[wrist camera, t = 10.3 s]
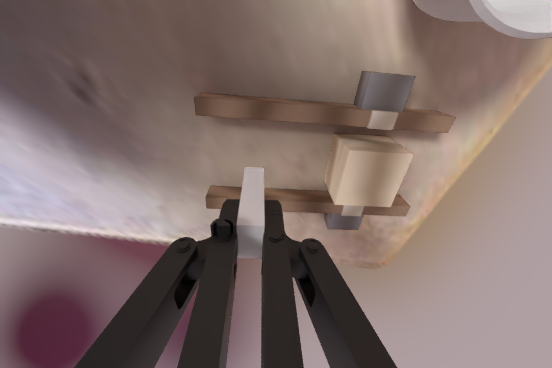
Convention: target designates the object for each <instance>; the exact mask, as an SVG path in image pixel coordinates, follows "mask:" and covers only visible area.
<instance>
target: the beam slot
mask: <svg viewBox="0 0 552 368" xmlns="http://www.w3.org/2000/svg"><path fill="white" fill-rule="evenodd" d="M415 77H416V76H409V75H401V74H390V73H379V72H367V71H362V74H361V78H360V81H359V85H358V89H357V93H356V97H355V101H354V105H352V104H339V103H326V102H313V101H301V100H288V99H275V98H262V97H249V96H236V95H223V94H210V93H200V94H199V95H197V96H195V97H194V102H195V111H196V115H201V116H216V117H230V118H244V119H258V120H273V121H287V122H301V123H315V124H330V125H344V126H358V127H367V128H368V129H381V130H393V129H401V130H415V131H430V132H444V133H448V132H449V130H450V128H451V126H452V124H453V122H454V120H455V118H456V117H454V116H451V115H448V114H445V113H442V112H439V111H430V110H417V109H404V106H405V103H406V101H407V98H408V95H409V93H410V90H411V87H412V85H413V82H414V79H415ZM241 191H242V187H225V186H210V188H209V191H208V193H207V195H206V207H207V208H211V209H221V208H222V204H223V203H224V202H225V201H226V199H240V197H241ZM264 200H278V201H279V202H280V204H281V206H282V211H287V212H312V213H326V214H325V218H324V219H325V222H326V225H327V228H328V229H343V230H358V228H359V226H360V223H361V220H362V218H363V215H388V216H406V214H407V212H408V210H409V208H410V206H409V204H408V203H407V202H406V201H405V200H404V199H403V198H402V197H401V196H400V195H396V196H395V198H394V201H393V203H392V205H391V207H375V206H351V205H335V204H334V202H333V200H332V198H331V195H330V193H329V191H310V190H289V189H268V188H264Z"/></svg>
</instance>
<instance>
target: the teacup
mask: <svg viewBox="0 0 552 368" xmlns="http://www.w3.org/2000/svg"><path fill="white" fill-rule="evenodd" d="M413 2H414V3H415V4H416V6H417V7H418V8H419V9H420V10H421V11H423V12H424V13H426V14H428V15H430V16H432V17H435V18H437V19H442V20H448V21H455V22H485V23H486V24H487V25H489V26H490V27H492V28H493V29H495V30H496V31H498V32H501V33H503V34H506V35H508V36H512V37H517V38H523V39H542V38H549V37H552V0H413Z"/></svg>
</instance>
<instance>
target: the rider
mask: <svg viewBox="0 0 552 368" xmlns="http://www.w3.org/2000/svg"><path fill="white" fill-rule="evenodd" d="M413 156H414V154H413V153H412V152H410V151H409V150H407V149H406V148H404V147H403V146H401V145H400V144H398V143H397V142H395V141H394V140H392V139H391V138H390V137H388V136H373V135H358V134H343V133H335V134H334V138H333V143H332V147H331V152H330V156H329V161H328V165H327V169H326V174H325V178H324V182H325V184H326V187H327V189H328V191H329V193H330V195H331V198H332V200H333V202H334V204H335V205H351V206H375V207H391V205H392V203H393V201H394V198H395V196H396V194H397V192H398V189H399V187H400V185H401V183H402V181H403V178H404V176H405V174H406V172H407V169H408V167H409V165H410V163H411V160H412V158H413Z"/></svg>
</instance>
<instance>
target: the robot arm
mask: <svg viewBox="0 0 552 368" xmlns="http://www.w3.org/2000/svg"><path fill="white" fill-rule="evenodd" d="M210 226H211V235H212V236H211V237H209V238H207V239H205V240H201V241H197V242H196V241H195V240H194V239H192V238H190V237H184V238H180V239H178V240H176V241H174V242H173V243H172V244H171V245H170V246H169V248H168V249H167V250H166V252H165V253H164V254H163V255H162V257H161V258H160V259H159V261H158V262H157V263H156V264H155V266H154V267H153V268H152V269H151V271H150V272H149V273H148V275H147V276H146V277H145V278H144V280H143V281H142V282H141V284H140V285H139V286H138V287H137V289H136V290H135V291H134V292H133V294H132V295H131V296H130V298H129V299H128V300H127V301H126V303H125V304H124V305H123V306H122V308H121V309H120V310H119V311H118V313H117V314H116V315H115V317H114V318H113V319H112V320H111V322H110V323H109V324H108V325H107V327H106V328H105V329H104V331H103V332H102V333H101V335H100V336H99V337H98V338H97V339H96V341H95V342H94V343H93V345H92V346H91V347H90V349H89V350H88V351H87V352H86V353H85V355H84V356H83V357H82V359H81V360H80V361H79V362H78V364H77V365H76V366H75V367H74V368H154V367H155V365H156V363H157V361H158V360H159V358H160V356H161V354H162V352H163V350H164V348H165V346H166V345H167V343H168V341H169V339H170V337H171V335H172V333H173V331H174V329H175V328H176V326H177V324H178V322H179V320H180V318H181V316H182V314H183V313H184V311H185V309H186V307H187V305H188V303H189V301H190V299H191V297H192V295H193V294H194V292H195V290H196V288H197V286H198V284H199V287H198V291H197V295H196V299H195V302H194V306H193V310H192V314H191V318H190V321H189V325H188V329H187V333H186V337H185V340H184V345H183V348H182V352H181V356H180V359H179V363H178V367H177V368H226V361H227V352H228V343H229V333H230V325H231V316H232V307H233V298H234V289H235V281H236V272H237V258H256V259H257V258H258V259H262V271H261V274H262V318H261V321H262V322H261V324H262V325H261V327H262V329H261V334H262V335H261V368H304V367H303V359H302V351H301V343H300V335H299V327H298V319H297V312H296V304H295V296H294V288H293V281H292V277H294V278H295V281H296V283H297V286H298V288H299V291H300V293H301V295H302V298H303V301H304V303H305V306H306V308H307V311H308V313H309V316H310V318H311V321H312V323H313V326H314V328H315V331H316V333H317V336H318V338H319V341H320V343H321V346H322V348H323V351H324V353H325V356H326V358H327V361H328V363H329V366H330V368H397V367H396V365H395V363H394V362H393V360H392V359H391V357H390V356H389V354H388V352H387V350H386V349H385V347H384V345H383V344H382V342H381V341H380V339H379V337H378V336H377V334H376V332H375V330H374V329H373V327H372V325H371V324H370V322H369V320H368V319H367V317H366V316H365V314H364V312H363V311H362V309H361V307H360V306H359V304H358V302H357V301H356V299H355V297H354V296H353V294H352V292H351V291H350V289H349V287H348V286H347V284H346V282H345V281H344V279H343V278H342V276H341V274H340V273H339V271H338V269H337V268H336V266H335V264H334V263H333V261H332V259H331V258H330V256H329V254H328V253H327V251H326V249H325V248H324V246H323V245H322V244H321V242H319V241H318V240H315V239H312V238H311V239H305V240H303V241H302V242H298V241H295V240H292V239H291V238H289V237H288V236H287V235H286V233H285V231H284V222H283V215H282V206H281V204H280V202H279V201H278V200H264V167H245V170H244V177H243V184H242V191H241V197H240V199H226V201H225V202H224V203H223V204H222V208H221V212H220V216H219V219H216V220H215V221H213V222H212V224H211V225H210ZM199 282H200V283H199Z"/></svg>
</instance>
